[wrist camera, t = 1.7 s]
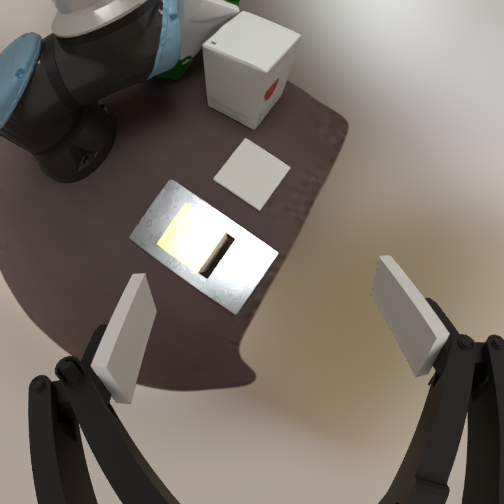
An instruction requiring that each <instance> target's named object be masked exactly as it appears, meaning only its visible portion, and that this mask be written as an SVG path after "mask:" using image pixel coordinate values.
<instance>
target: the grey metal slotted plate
mask: <svg viewBox="0 0 504 504" xmlns="http://www.w3.org/2000/svg"><path fill="white" fill-rule="evenodd" d="M185 203H186V204H188V205H189V206H191V207H192V208H194V209H195V210H197V211H198V212H200V213H201V214H202V215H204V216H205V217H207V218H208V219H210V220H211V221H212V222H214V223H215V224H217V225H218V226H220V227H221V228H223V229H224V230H225V231H226V232H227V235H228V236H230V237H231V238H233V239H234V242H233V243H232V245H231V246H230V248H229V249H228V250H227V252H226V253H225V255H224V256H223V258H222V259H221V261H220V262H219V263H218V265H217V266H216V268H215V269H214V271H213V272H212V274H211V275H210V277H209V278H207V277H205V276H204V275H202V274H201V273H196V272H194V271H193V270H192V269H190V268H189V267H187V266H186V265H185V264H183V263H182V262H180V261H179V260H178V259H176V258H175V257H174V256H172V255H171V254H169V253H168V252H167V251H165V250H164V249H163V248H161V247H160V246H159V245H157V243H158V241H159V240H160V238H161V237H162V235H163V234H164V233H165V231H166V230H167V228H168V227H169V225H170V224H171V222H172V221H173V220H174V218H175V217H176V215H177V214H178V213H179V211H180V210H181V208H182V207H183V206H184V204H185ZM129 238H130V239H131V240H132V241H134V242H135V243H136V244H137V245H139V246H140V247H141V248H143V249H144V250H145V251H147V252H148V253H149V254H151V255H152V256H153V257H155V258H156V259H157V260H159V261H160V262H161V263H163V264H164V265H165V266H167V267H168V268H169V269H171V270H172V271H174V272H175V273H176V274H178V275H179V276H180V277H182V278H183V279H185V280H186V281H187V282H189V283H190V284H192V285H193V286H194V287H196V288H197V289H199V290H200V291H202V292H203V293H204V294H206V295H207V296H209V297H210V298H212V299H213V300H215V301H216V302H217V303H219V304H220V305H222V306H223V307H225V308H226V309H228V310H229V311H231V312H232V313H234V314H235V315H236V314H237V313H238V311H239V310H240V309H241V307H242V306H243V304H244V303H245V301H246V300H247V299H248V297H249V296H250V294H251V293H252V291H253V290H254V288H255V287H256V285H257V284H258V283H259V281H260V280H261V278H262V277H263V275H264V274H265V272H266V271H267V269H268V268H269V267H270V265H271V264H272V262H273V261H274V259H275V258H276V256H277V255H278V252H277V251H275V250H274V249H272V248H271V247H270V246H268V245H267V244H265V243H264V242H262V241H261V240H260V239H258V238H257V237H255V236H254V235H252V234H251V233H249V232H248V231H247V230H245V229H244V228H242V227H241V226H239V225H238V224H236V223H235V222H234V221H232V220H231V219H229V218H228V217H226V216H225V215H223V214H222V213H220V212H219V211H218V210H216V209H215V208H213V207H212V206H210V205H209V204H207V203H206V202H204V201H203V200H201V199H200V198H199V197H197V196H196V195H194V194H193V193H191V192H190V191H188V190H187V189H185V188H184V187H182V186H181V185H179V184H178V183H176V182H175V181H174V180H172V179H170V180H169V181H168V183H167V184H166V185H165V187H164V188H163V189H162V191H161V192H160V194H159V195H158V196H157V198H156V199H155V200H154V202H153V203H152V205H151V206H150V207H149V209H148V210H147V212H146V213H145V215H144V216H143V218H142V219H141V220H140V222H139V223H138V225H137V226H136V228H135V229H134V231H133V232H132V234H131V235H130V237H129Z"/></svg>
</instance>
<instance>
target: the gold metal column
mask: <svg viewBox="0 0 504 504" xmlns="http://www.w3.org/2000/svg"><path fill="white" fill-rule="evenodd" d="M227 242H228V239H227V232H226V231H225V230H224V229H223V228H221V227H220V226H218V225H217V224H215V223H214V222H212V221H211V220H210V219H208V218H207V217H205V216H204V215H202V214H201V213H200V212H198V211H197V210H195V209H194V208H192V207H191V206H189V205H188V204H186V203H185V204H184V206H183V207H182V208H181V210H180V211H179V213H178V214H177V215H176V217H175V218H174V220H173V221H172V222H171V224H170V225H169V227H168V228H167V230H166V231H165V233H164V234H163V235H162V237H161V238H160V240H159V241H158V243H157V245H159V246H160V247H161V248H163V249H164V250H165V251H167V252H168V253H169V254H171V255H172V256H174V257H175V258H176V259H178V260H179V261H180V262H182V263H183V264H185V265H186V266H187V267H189V268H190V269H192V270H193V271H194V272H196V273H201V272H206V271H208V269H209V268H210V267H211V265H212V264H213V262H214V261H215V259H216V258H217V256H218V255H219V254H220V252H221V251H222V249H223V248H224V246H225V245H226V244H227Z"/></svg>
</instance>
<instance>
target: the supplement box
mask: <svg viewBox="0 0 504 504" xmlns="http://www.w3.org/2000/svg"><path fill="white" fill-rule="evenodd" d="M300 38H301V35H300V34H297V33H296V32H294V31H291V30H289V29H287V28H285V27H282V26H280V25H278V24H275V23H273V22H271V21H268V20H266V19H264V18H261V17H259V16H256V15H254V14H251V13H248V12H245V11H242V12H241V13H239V14H238V15H237V16H236V17H234V18H233V19H232V20H231V21H229V22H228V23H226V24H225V25H224V26H222V27H221V28H220V30H218V31H217V32H216V33H215V34H214V35H213V36H211V37H210V38H209V39H208V40H207V41H206V42H205V43H203V44H202V48H203V59H204V70H205V81H206V91H207V101H208V106H209V107H211V108H213V109H215V110H217V111H219V112H221V113H223V114H225V115H227V116H229V117H231V118H232V119H234V120H236V121H238V122H240V123H242V124H243V125H245V126H247V127H249V128H251V129H253V130H255V129H256V128H257V126H258V125H259V124H260V123H261V121H262V120H263V119H264V117H265V116H266V115H267V113H268V112H269V111H270V110H271V108H272V107H273V106H274V105H275V103H276V102H277V101H278V99H279V98H280V97H281V96H282V93H283V90H284V87H285V84H286V81H287V77H288V74H289V71H290V68H291V65H292V62H293V59H294V56H295V52H296V49H297V47H298V43H299V41H300Z"/></svg>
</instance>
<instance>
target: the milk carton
mask: <svg viewBox="0 0 504 504" xmlns="http://www.w3.org/2000/svg"><path fill="white" fill-rule="evenodd" d="M238 2H239V0H176V4H177V10H178V20H179V23H180V33H181V52H180V57H179V60H178V62H177V64H176V65H175V66H174V67H173V68H171V69H170V70H167V71H165V72H162V73H160V74H158V75H155V76H153V77H160V78H167V79H174V80H180V79H181V77H182V76H183V74H184V73H185V71H186V70H187V69H188V67H189V66H190V64H191V63H192V62H193V60H194V59H195V57H196V56H197V55H198V53H199V52H200V51H201V50H202V44H203V43H205V42H206V41H207V40H208V39H209V38H210V37H211V36H213V35H214V34H215V33H216V31H217V30H218V29H219V28H220V27H221V26H222V25H223V24H224V23H225V22H226V21H227V20H229V19H230V18H231V17H233V16H234V15H236V14H237V13H238V12H239V8H238V7H239V4H238Z"/></svg>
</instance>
